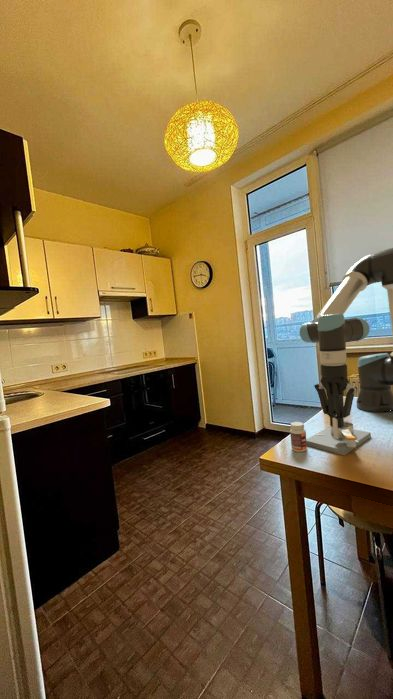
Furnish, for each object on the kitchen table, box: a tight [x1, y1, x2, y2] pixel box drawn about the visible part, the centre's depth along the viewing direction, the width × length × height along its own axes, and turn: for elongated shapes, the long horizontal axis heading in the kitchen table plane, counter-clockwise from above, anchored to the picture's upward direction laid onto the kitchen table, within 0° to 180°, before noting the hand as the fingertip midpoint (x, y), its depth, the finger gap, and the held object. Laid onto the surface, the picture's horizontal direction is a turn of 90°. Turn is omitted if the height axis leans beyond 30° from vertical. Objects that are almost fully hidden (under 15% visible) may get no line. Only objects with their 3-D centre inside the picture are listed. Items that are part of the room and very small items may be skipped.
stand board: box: [306, 426, 372, 456], centre depth 96 cm, size 18×14×2 cm
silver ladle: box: [329, 420, 357, 448], centre depth 93 cm, size 16×7×4 cm, turn 165°
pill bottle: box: [289, 421, 308, 453], centre depth 93 cm, size 5×5×8 cm
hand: (337, 437), depth 92 cm, fingers closed
